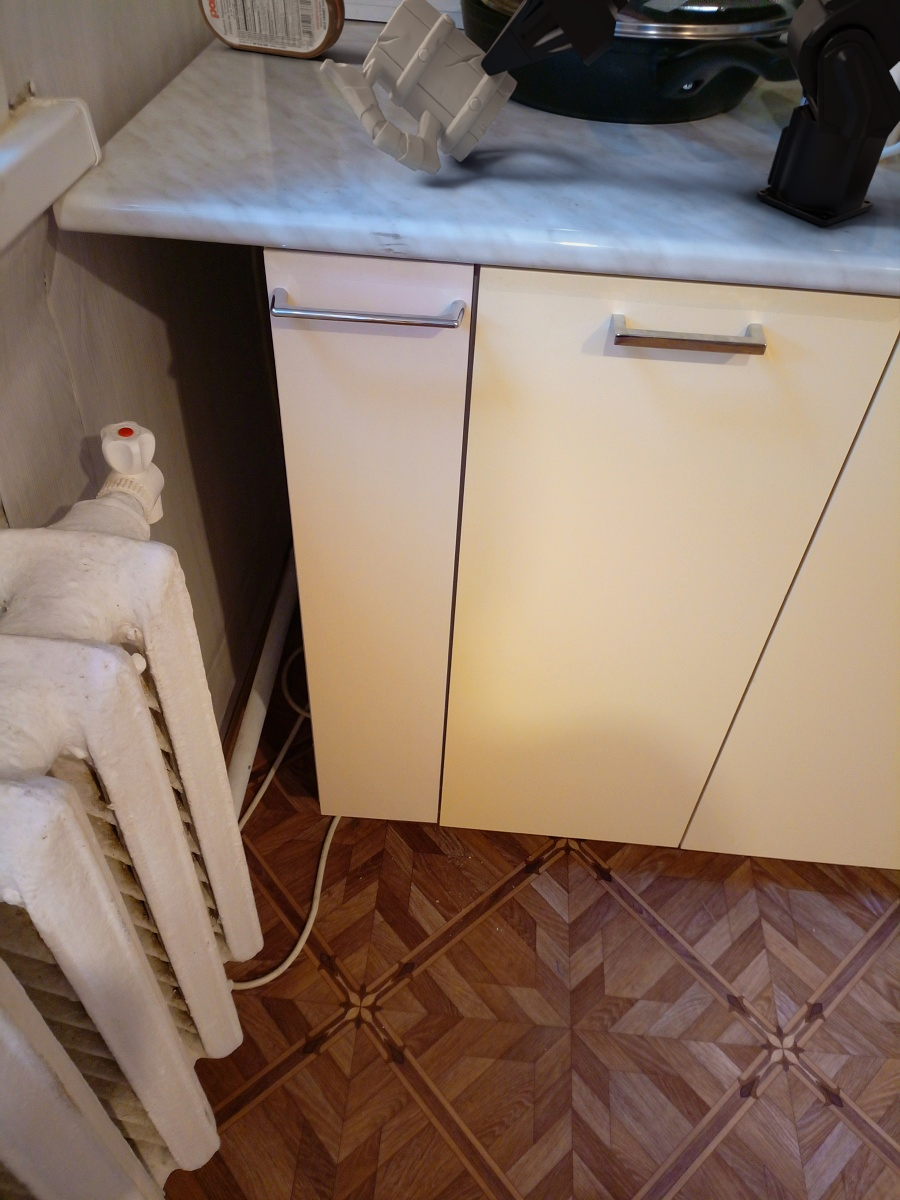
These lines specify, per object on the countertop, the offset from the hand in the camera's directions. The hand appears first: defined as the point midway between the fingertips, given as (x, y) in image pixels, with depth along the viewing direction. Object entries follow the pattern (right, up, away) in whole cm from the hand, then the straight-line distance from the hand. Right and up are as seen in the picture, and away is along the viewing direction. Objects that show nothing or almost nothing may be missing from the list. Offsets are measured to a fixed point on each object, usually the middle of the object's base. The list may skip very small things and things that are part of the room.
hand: (484, 69), depth 63 cm
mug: (0, -3, +4) cm, 5 cm away
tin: (-21, +17, +25) cm, 37 cm away
